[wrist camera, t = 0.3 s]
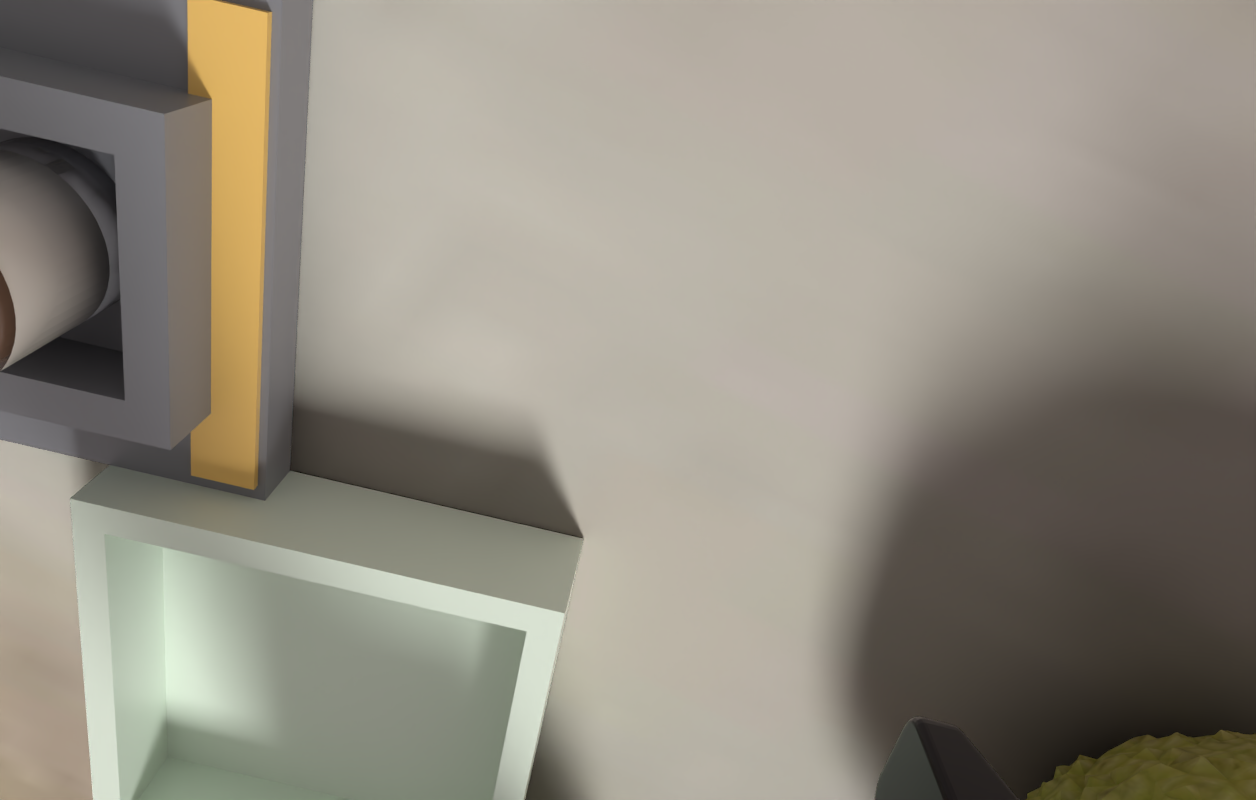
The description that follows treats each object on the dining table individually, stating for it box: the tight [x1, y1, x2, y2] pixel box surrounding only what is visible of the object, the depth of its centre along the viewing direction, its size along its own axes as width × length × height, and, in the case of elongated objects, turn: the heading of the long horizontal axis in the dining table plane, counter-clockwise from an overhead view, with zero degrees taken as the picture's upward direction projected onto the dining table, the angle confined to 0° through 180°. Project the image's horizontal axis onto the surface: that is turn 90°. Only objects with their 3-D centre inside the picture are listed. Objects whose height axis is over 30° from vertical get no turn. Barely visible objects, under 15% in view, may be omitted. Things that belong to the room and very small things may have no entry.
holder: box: [0, 0, 313, 501], centre depth 21 cm, size 12×10×4 cm
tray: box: [70, 465, 584, 800], centre depth 26 cm, size 12×12×3 cm
